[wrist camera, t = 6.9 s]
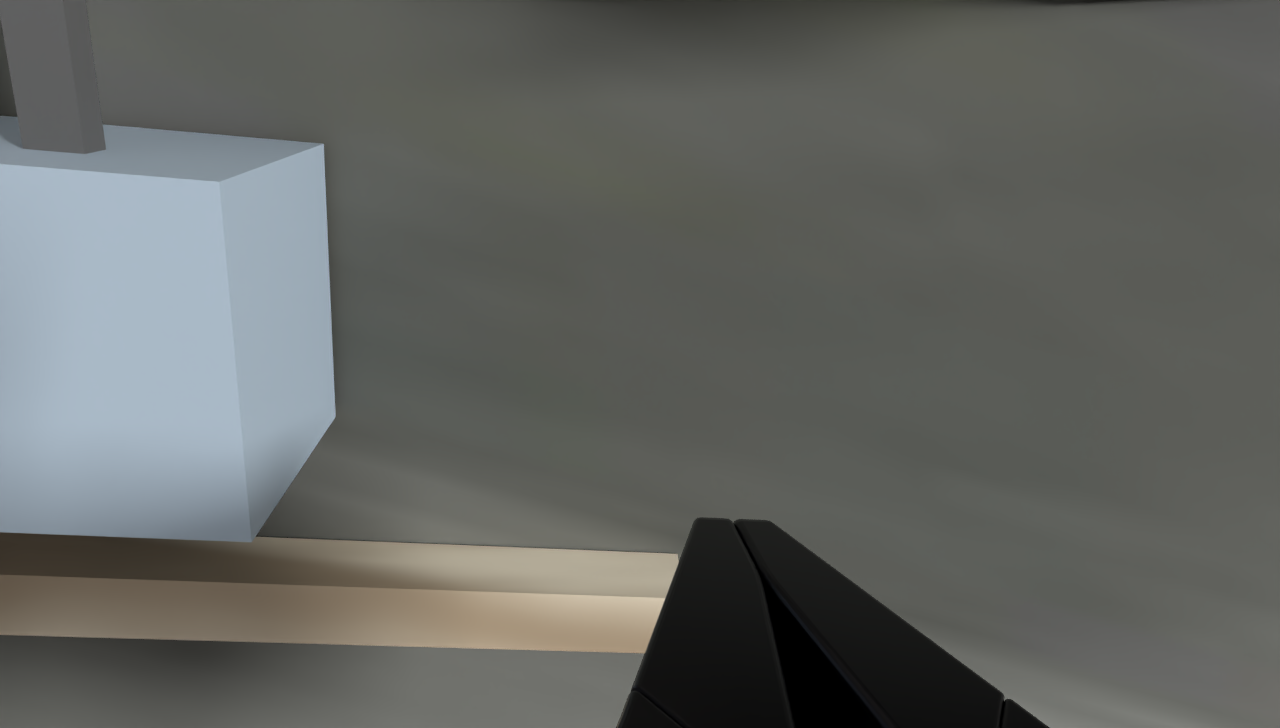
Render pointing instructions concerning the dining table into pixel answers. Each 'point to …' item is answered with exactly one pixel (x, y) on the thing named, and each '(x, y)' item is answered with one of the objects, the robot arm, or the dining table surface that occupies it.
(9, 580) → the beige grey patterned tray
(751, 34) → the dining table surface
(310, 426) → the pale blue mallet
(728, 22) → the dining table surface
